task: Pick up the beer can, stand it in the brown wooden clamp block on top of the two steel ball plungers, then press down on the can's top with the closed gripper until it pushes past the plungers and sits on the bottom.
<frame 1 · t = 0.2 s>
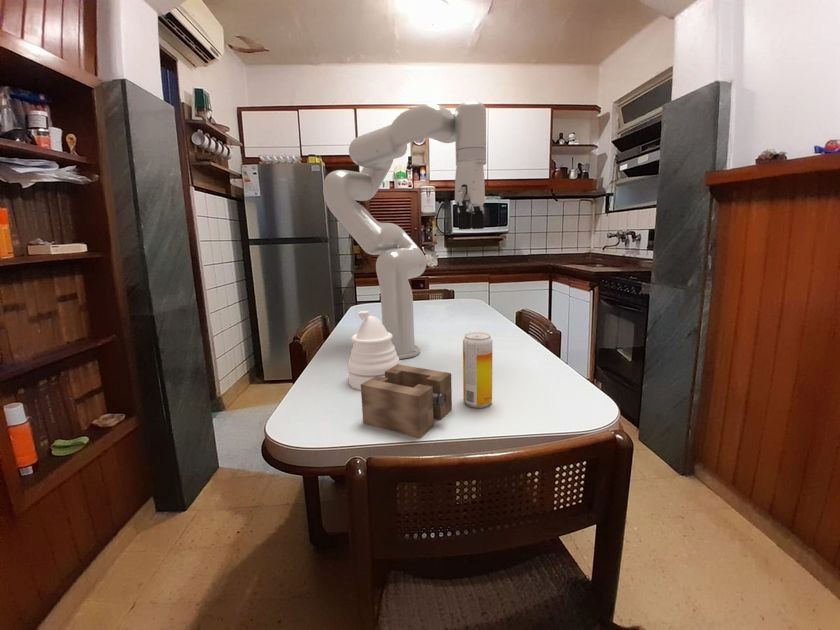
hand: (471, 229, 103), 37 cm above the table, tool pointing down, fingers open, 9 cm apart
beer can: (477, 403, 86), on the table
plunger 2: (430, 397, 77), point 5 cm above the table, slide at 0.0 cm
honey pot: (375, 381, 101), on the table
brown wooden clamp block: (408, 416, 81), on the table
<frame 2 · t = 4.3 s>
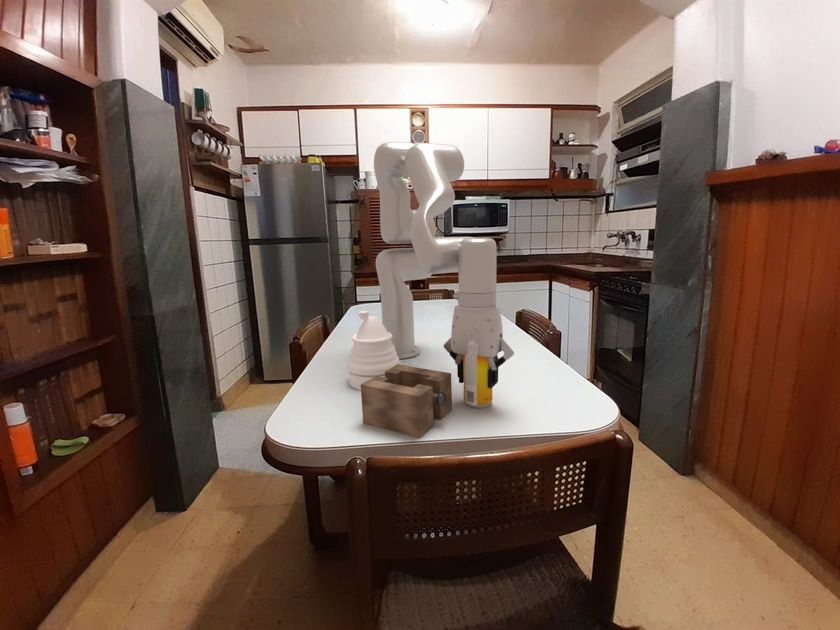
hand: (477, 382, 85), 5 cm above the table, tool pointing down, fingers closed on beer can, 5 cm apart
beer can: (477, 403, 86), on the table, touching gripper
everything else where it was.
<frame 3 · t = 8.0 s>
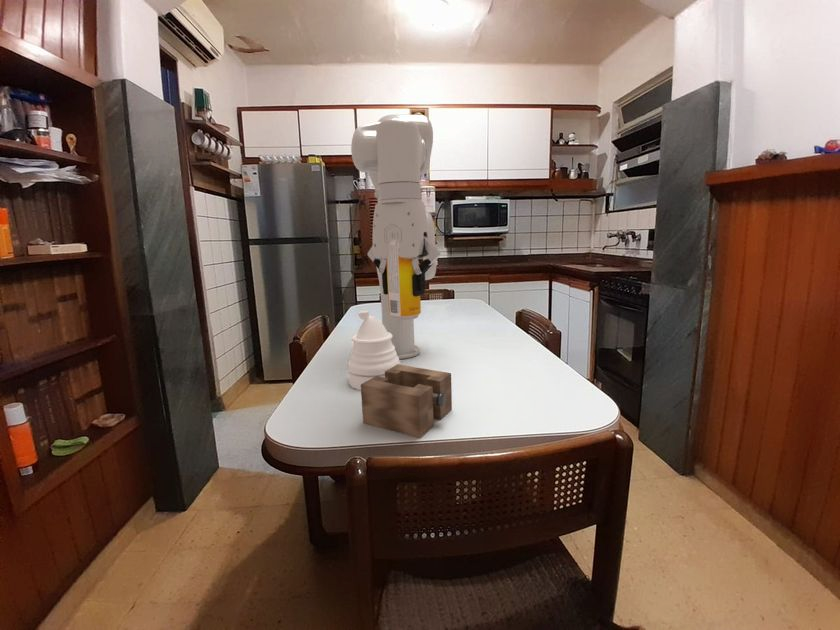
hand: (403, 293, 76), 25 cm above the table, tool pointing down, fingers closed on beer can, 5 cm apart
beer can: (405, 318, 77), point 20 cm above the table, touching gripper
everything else where it was.
when the fingers open (11 cm above the table, at t = 11.3 s): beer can stays where it is, resting on plunger 2, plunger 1.
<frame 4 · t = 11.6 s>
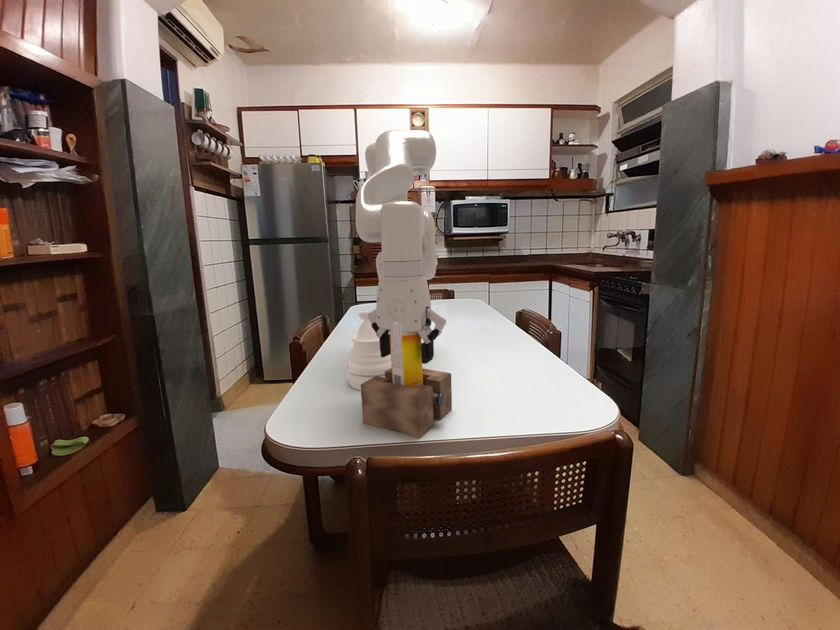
hand: (406, 358, 78), 12 cm above the table, tool pointing down, fingers open, 9 cm apart
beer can: (408, 389, 80), point 6 cm above the table, touching plunger 2, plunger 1
plunger 2: (430, 397, 77), point 5 cm above the table, slide at 0.0 cm, touching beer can
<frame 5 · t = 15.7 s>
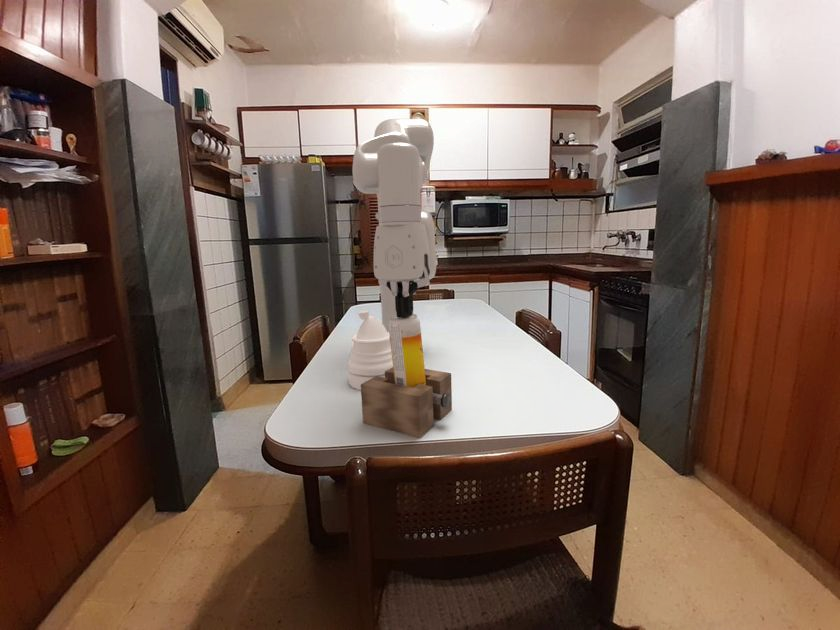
hand: (404, 316, 76), 21 cm above the table, tool pointing down, fingers closed
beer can: (411, 391, 79), point 5 cm above the table, touching gripper
plunger 2: (435, 398, 77), point 5 cm above the table, slide at 0.9 cm
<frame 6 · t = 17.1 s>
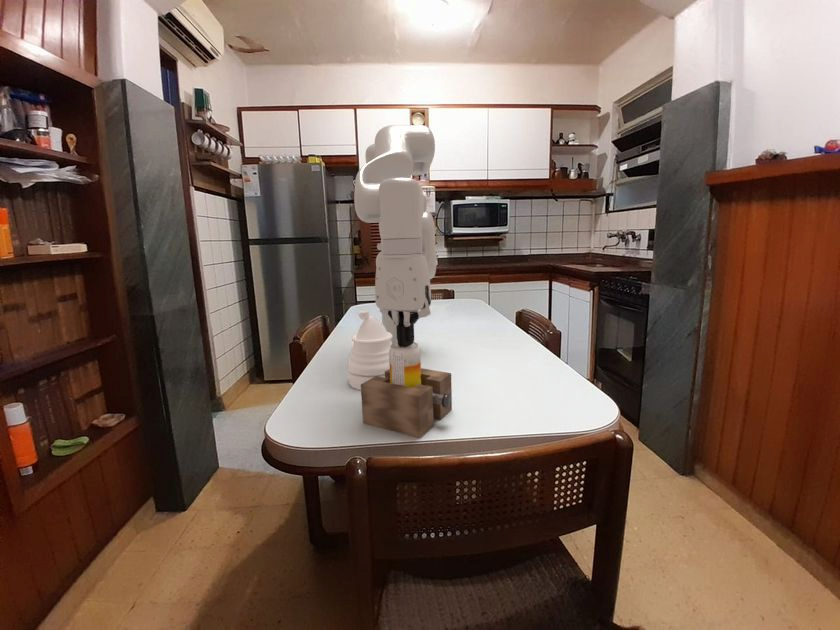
hand: (405, 344, 78), 15 cm above the table, tool pointing down, fingers closed
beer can: (407, 417, 81), on the table, touching gripper
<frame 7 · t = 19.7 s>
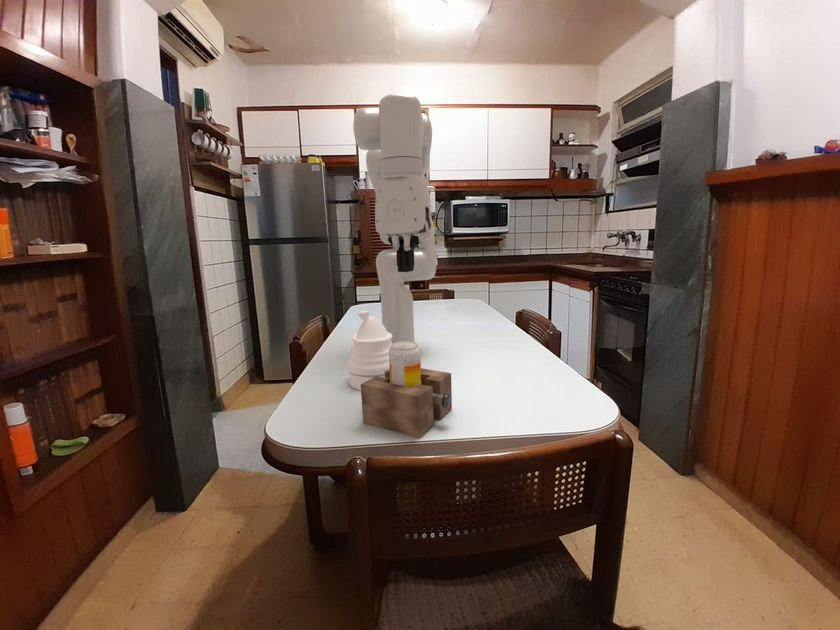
hand: (405, 271, 77), 29 cm above the table, tool pointing down, fingers closed
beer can: (407, 417, 81), on the table
everything else where it was.
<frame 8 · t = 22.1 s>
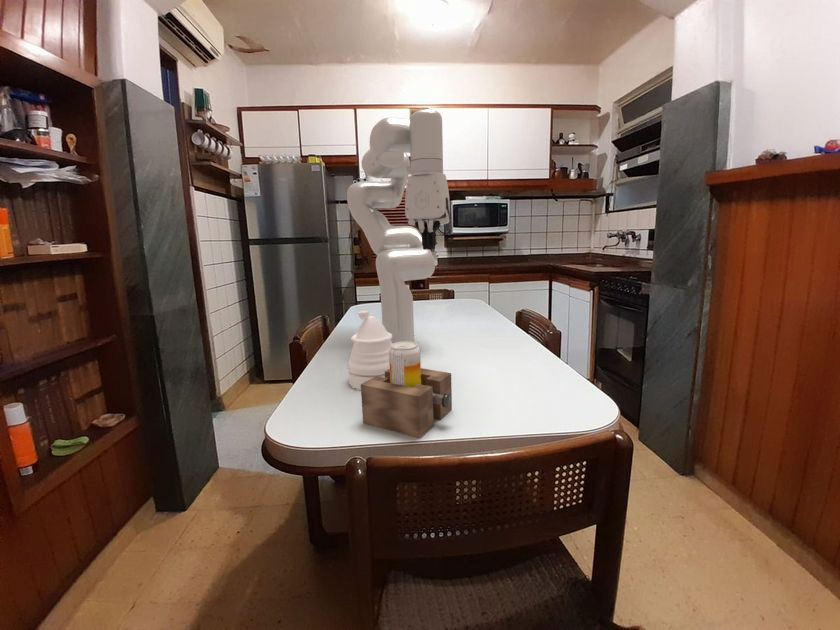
hand: (429, 249, 97), 32 cm above the table, tool pointing down, fingers closed
nothing on the table moved.
at the end: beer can 0.4 cm off-centre on the brown wooden clamp block, point 0.0 cm above the brown wooden clamp block's base; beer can tilted 0°; the gripper is holding nothing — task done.
